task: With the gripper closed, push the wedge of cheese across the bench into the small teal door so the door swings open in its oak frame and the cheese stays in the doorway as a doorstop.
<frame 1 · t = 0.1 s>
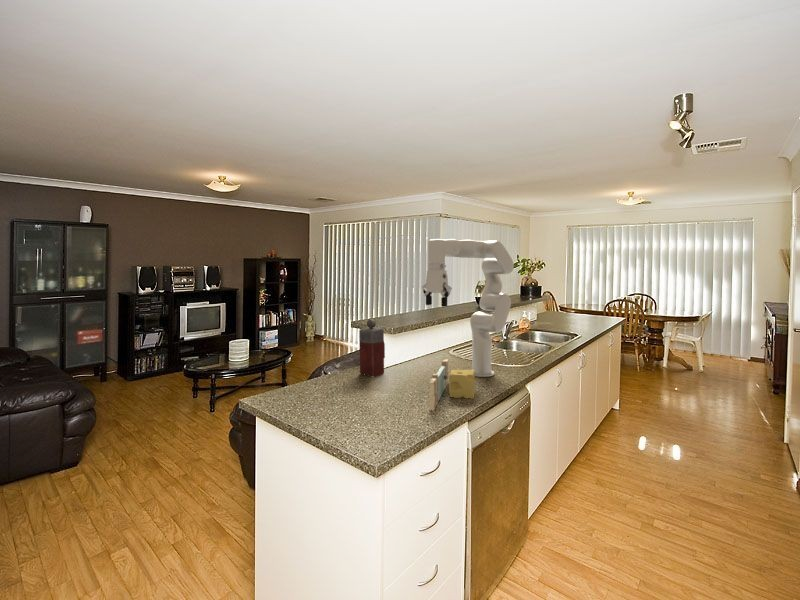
hand: (436, 305, 192), 37 cm above the worktop, tool pointing down, fingers open, 9 cm apart
door: (439, 382, 183), point 5 cm above the worktop, hinge at 0.0°
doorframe: (435, 404, 172), on the worktop
red canister: (373, 373, 220), on the worktop
cheese: (461, 395, 183), on the worktop
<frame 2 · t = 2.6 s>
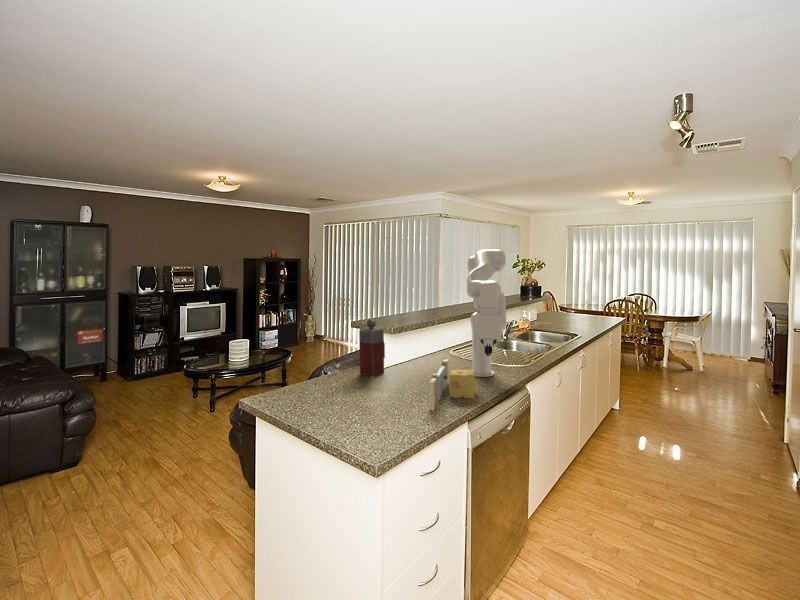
hand: (488, 355, 179), 18 cm above the worktop, tool pointing down, fingers closed
nothing on the worktop moved.
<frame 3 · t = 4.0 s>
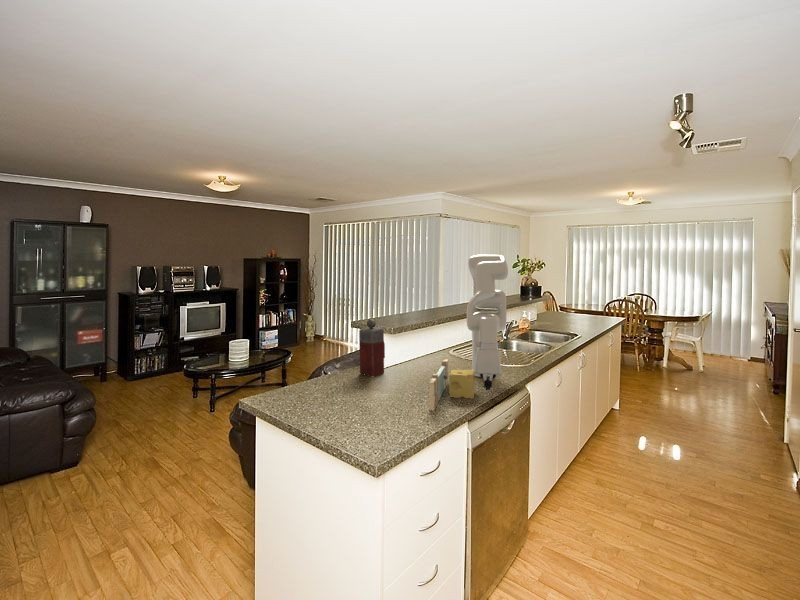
hand: (488, 389, 180), 3 cm above the worktop, tool pointing down, fingers closed
nothing on the worktop moved.
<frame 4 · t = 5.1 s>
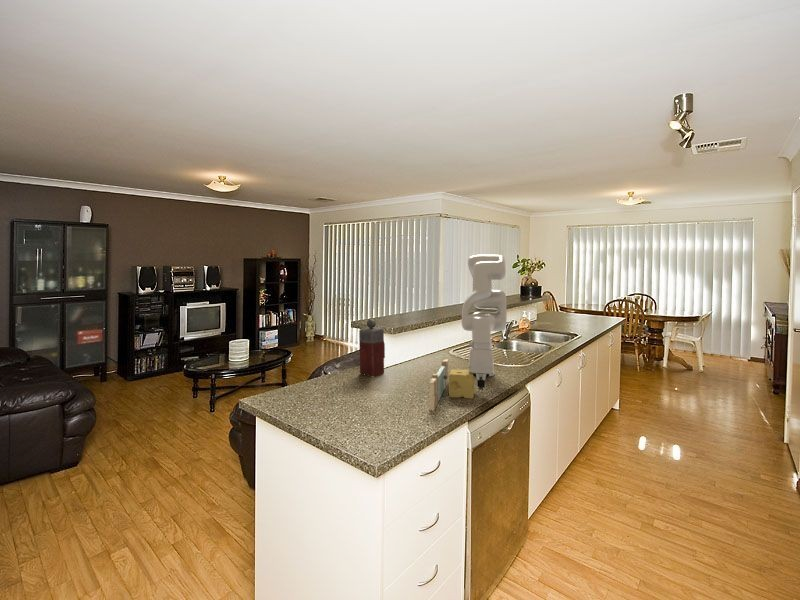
hand: (481, 388, 181), 3 cm above the worktop, tool pointing down, fingers closed
cheese: (461, 395, 183), on the worktop, touching gripper
everything else where it was.
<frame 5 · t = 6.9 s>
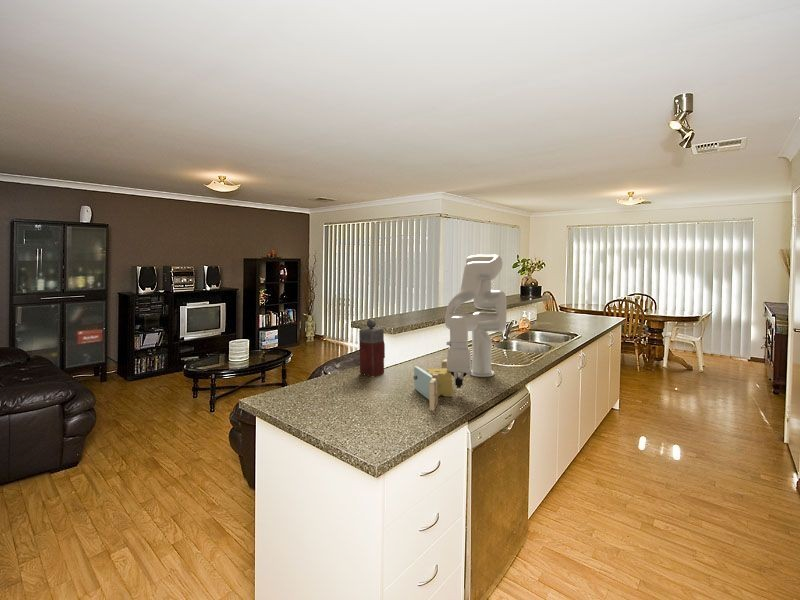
hand: (458, 387, 184), 3 cm above the worktop, tool pointing down, fingers closed
door: (424, 383, 183), point 5 cm above the worktop, hinge at 32.7°, touching cheese
cheese: (439, 393, 185), on the worktop, touching door, gripper
everything else where it was.
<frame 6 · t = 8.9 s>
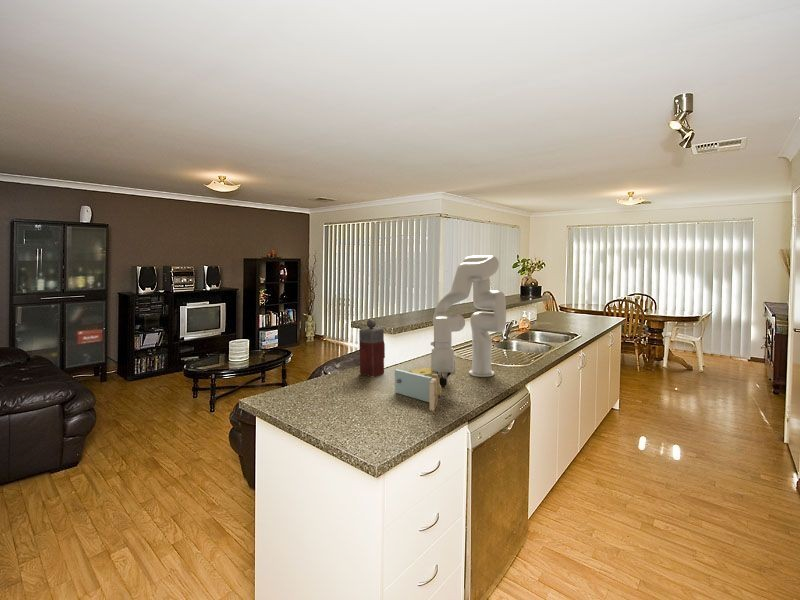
hand: (443, 386, 186), 3 cm above the worktop, tool pointing down, fingers closed
door: (413, 385, 180), point 5 cm above the worktop, hinge at 59.9°, touching cheese
cheese: (423, 394, 185), on the worktop, touching door, gripper
everything else where it was.
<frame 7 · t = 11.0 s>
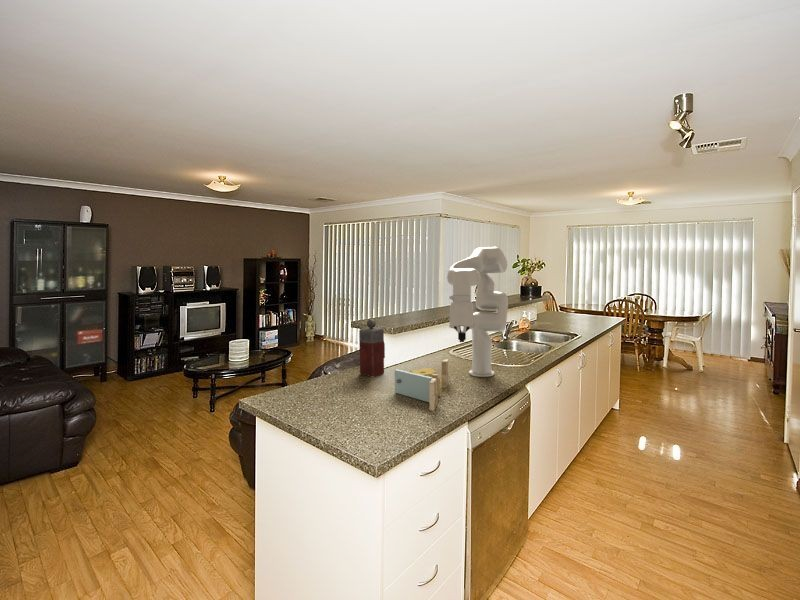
hand: (461, 341, 183), 23 cm above the worktop, tool pointing down, fingers closed
door: (413, 385, 180), point 5 cm above the worktop, hinge at 60.2°
cheese: (424, 394, 185), on the worktop
everything else where it was.
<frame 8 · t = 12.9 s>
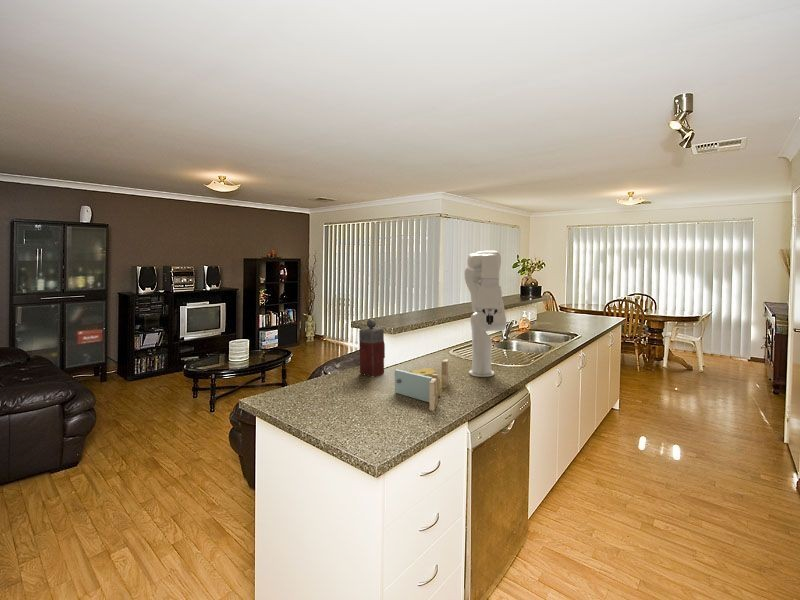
hand: (489, 324, 189), 29 cm above the worktop, tool pointing down, fingers closed
nothing on the worktop moved.
at the end: door at +60° (first picture: +0°); cheese inside the target area (1.3 cm from its centre), on the worktop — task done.
